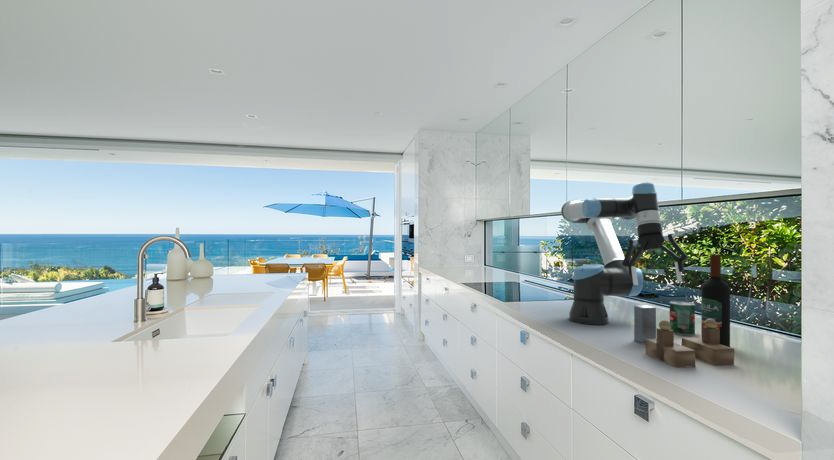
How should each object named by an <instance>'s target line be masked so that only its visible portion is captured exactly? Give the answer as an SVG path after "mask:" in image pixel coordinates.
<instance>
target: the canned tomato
mask: <svg viewBox="0 0 834 460" xmlns="http://www.w3.org/2000/svg"><path fill="white" fill-rule="evenodd" d="M669 322H670V324H671V328H670V330H673V331H674V335H675V334H676V335H679V336H695V335H696V303H693V302H689V301H680V300H671V301H669Z"/></svg>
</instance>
